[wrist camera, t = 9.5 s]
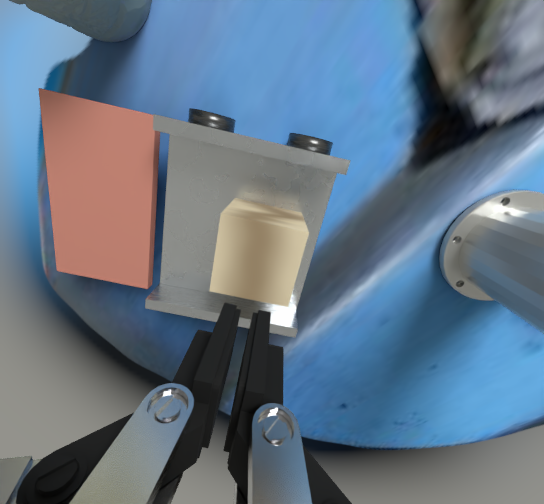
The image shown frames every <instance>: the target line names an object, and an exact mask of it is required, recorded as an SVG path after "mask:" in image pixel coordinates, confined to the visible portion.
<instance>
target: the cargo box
mask: <svg viewBox="0 0 544 504" xmlns="http://www.w3.org/2000/svg"><path fill="white" fill-rule="evenodd" d="M308 235H309V231H308V228H307V226H306V223H305V220H304V217H303V215H302V213H301V212H296V211H292V210H287V209H283V208H278V207H274V206H269V205H265V204H260V203H256V202H251V201H247V200H242V199H238V198H235V199H234V200H233V201H232V202H231V203H230V204H229V205H228V206H227V207H226V208H225V209H224V211H223V212H222V213H221V215H220V222H219V229H218V236H217V243H216V249H215V256H214V263H213V270H212V277H211V283H210V290H209V291H211V292H216V293H221V294H226V295H231V296H236V297H240V298H245V299H250V300H255V301H260V302H265V303H270V304H275V305H280V306H285V307H288V306H289V302H290V298H291V295H292V291H293V288H294V284H295V281H296V277H297V274H298V270H299V267H300V263H301V260H302V256H303V253H304V249H305V246H306V242H307V239H308Z"/></svg>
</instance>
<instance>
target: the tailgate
mask: <svg viewBox="0 0 544 504" xmlns="http://www.w3.org/2000/svg"><path fill="white" fill-rule="evenodd" d="M39 97H40V107H41V117H42V127H43V137H44V147H45V156H46V166H47V176H48V186H49V196H50V206H51V216H52V226H53V236H54V246H55V256H56V266H57V271H60V272H65V273H70V274H75V275H80V276H85V277H90V278H95V279H100V280H105V281H110V282H115V283H120V284H125V285H130V286H135V287H140V288H145V289H148V288H149V287H150V286H151V285H152V279H153V259H154V240H155V221H156V202H157V182H158V163H159V144H160V132H159V131H155V130H153V115H151V114H147V113H143V112H138V111H134V110H130V109H126V108H121V107H117V106H113V105H109V104H104V103H100V102H96V101H92V100H87V99H83V98H79V97H75V96H70V95H66V94H62V93H58V92H54V91H49V90H45V89H41V88H39Z"/></svg>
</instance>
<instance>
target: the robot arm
mask: <svg viewBox="0 0 544 504" xmlns="http://www.w3.org/2000/svg"><path fill="white" fill-rule="evenodd" d="M439 261H440V269H441V272H442V275H443V277H444V278H445V280H446V281H447V283H448V284H449V285H450V286H451V287H453V288H454V289H455V290H456V291H458V292H459V293H461V294H462V295H464V296H466V297H469V298H472V299H476V300H485V301H492V300H495V301H497V302H498V303H500V304H501V305H503V306H504V307H505V308H507V309H508V310H510V311H511V312H513V313H514V314H516V315H517V316H518V317H520V318H521V319H523V320H524V321H526V322H527V323H528V324H530V325H531V326H533V327H534V328H536V329H537V330H539V331H540V332H541V333H543V334H544V194H542V193H540V192H535V191H529V190H509V191H502V192H499V193H496V194H493V195H490V196H488V197H486V198H484V199H482V200H480V201H478V202H476V203H475V204H473V205H472V206H470V207H469V208H468V209H466V210H465V211H464V212H463V213H462V214H461V215H460V216H459V217H458V218H457V219H456V220H455V221H454V223H453V224H452V225H451V227H450V228H449V230H448V232H447V233H446V235H445V237H444V239H443V242H442V245H441V248H440V256H439ZM240 313H241V309H237V305H234V304H229V303H224V305H223V307H222V310H221V312H220V315H219V318H218V320H217V323H216V325H215V328H214V330H213V333H212V332H207V331H202V330H198V331H197V332H196V334H195V336H194V338H193V340H192V342H191V344H190V347H189V349H188V351H187V353H186V355H185V357H184V359H183V361H182V363H181V365H180V367H179V369H178V371H177V373H176V375H175V377H174V379H173V381H172V383H170V384H164V385H161V386H159V387H157V388H155V389H154V390H152V391H151V392H150V393H149V394H148V395H147V396H146V397H145V399H144V400H143V402H142V403H141V404H140V406H139V407H138V409H137V410H136V411H135V412H134V413H132V414H130V415H128V416H126V417H124V418H122V419H120V420H118V421H116V422H114V423H112V424H110V425H108V426H106V427H103V428H102V429H100V430H97V431H95V432H93V433H91V434H89V435H87V436H85V437H83V438H81V439H79V440H77V441H75V442H73V443H71V444H69V445H67V446H64V447H62V448H60V449H58V450H56V451H55V452H53V453H51V454H50V455H48V456H46V457H45V458H43V459H38V460H32V456H26V457H15V458H5V459H0V504H171V502H172V499H173V497H174V495H175V492H176V490H177V488H178V485H179V483H180V481H181V478H182V475H183V472H184V471H185V470H186V469H188V468H189V467H190V466H192V465H193V464H195V463H196V461H197V458H199V456H200V453H201V449H202V447H205V448H208V446H209V443H210V439H211V435H212V431H213V427H214V423H215V419H216V415H217V411H218V408H219V404H220V400H221V396H222V392H223V388H224V384H225V381H226V377H227V373H228V369H229V365H230V361H231V356H232V351H233V347H234V342H235V337H236V332H237V327H238V322H239V318H240ZM270 319H271V312H267V311H262V310H258V313H255V312H253V315H252V319H251V323H250V328H249V332H248V336H247V341H246V345H245V350H244V354H243V358H242V363H241V367H240V372H239V377H238V382H237V387H236V392H235V397H234V402H233V407H232V412H231V417H230V422H229V427H228V431H227V436H226V441H225V446H224V451H226V452H229V458H228V470H229V471H230V473H231V475H232V476H233V478H234V480H235V488H234V504H352V503H351V502H350V501H349V500H348V499H347V497H346V496H345V495H344V494H343V493H342V491H341V490H340V489H339V488H338V487H337V485H336V484H335V483H334V482H333V481H332V479H331V478H330V477H329V476H328V475H327V473H326V472H325V471H324V470H323V469H322V467H321V466H320V465H319V464H318V463H317V461H316V460H315V459H314V458H313V457H312V455H311V454H310V453H309V452H308V451H307V449H306V448H305V447H304V446H303V445H302V440H301V434H300V428H299V424H298V421H297V419H296V417H295V416H294V414H293V413H292V412H291V411H290V410H289V409H288V408H286V407H284V406H283V347H279V346H274V345H269V344H268V343H269V331H270Z"/></svg>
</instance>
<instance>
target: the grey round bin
mask: <svg viewBox="0 0 544 504" xmlns="http://www.w3.org/2000/svg"><path fill="white" fill-rule="evenodd" d="M9 1H12V2H14V3H17V4H26V6H27V7H28V8H29V9H31V10H32V11H34V12H37V13H40V14H42V15H44V16H46V17H48V18H51V19H53V20H55V21H57V22H59V23H63V24H65V25H67V26H69V27H72V28H73V29H75V30H77V31H79V32H81V33H83V34H85V35H87V36H90V37H92V38H94V39H97V40H101V41H106V42H119V41H123V40H126V39H128V38H130V37H132V36H133V35H135V34H136V33H137V32H138V31H139V30H140V29H141V27H142V26H143V24H144V23H145V21H146V19H147V17H148V14H149V11H150V6H151V2H152V0H9Z"/></svg>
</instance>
